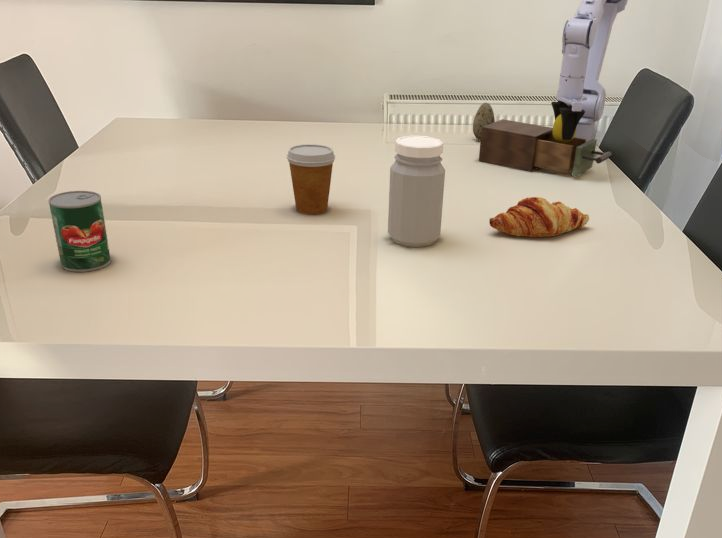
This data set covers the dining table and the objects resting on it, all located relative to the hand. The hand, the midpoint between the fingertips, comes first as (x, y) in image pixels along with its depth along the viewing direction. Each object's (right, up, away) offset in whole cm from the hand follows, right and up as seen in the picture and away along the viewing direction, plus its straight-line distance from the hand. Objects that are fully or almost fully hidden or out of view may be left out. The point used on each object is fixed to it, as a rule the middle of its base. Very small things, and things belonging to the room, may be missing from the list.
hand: (563, 136), depth 180 cm
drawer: (+2, -7, +3) cm, 8 cm away
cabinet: (-10, -3, +10) cm, 14 cm away
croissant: (-13, -29, -33) cm, 46 cm away
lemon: (0, -2, +1) cm, 2 cm away
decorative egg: (-16, +7, +27) cm, 32 cm away
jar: (-37, -32, -39) cm, 63 cm away
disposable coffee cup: (-57, -24, -27) cm, 68 cm away
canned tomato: (-92, -39, -54) cm, 114 cm away
